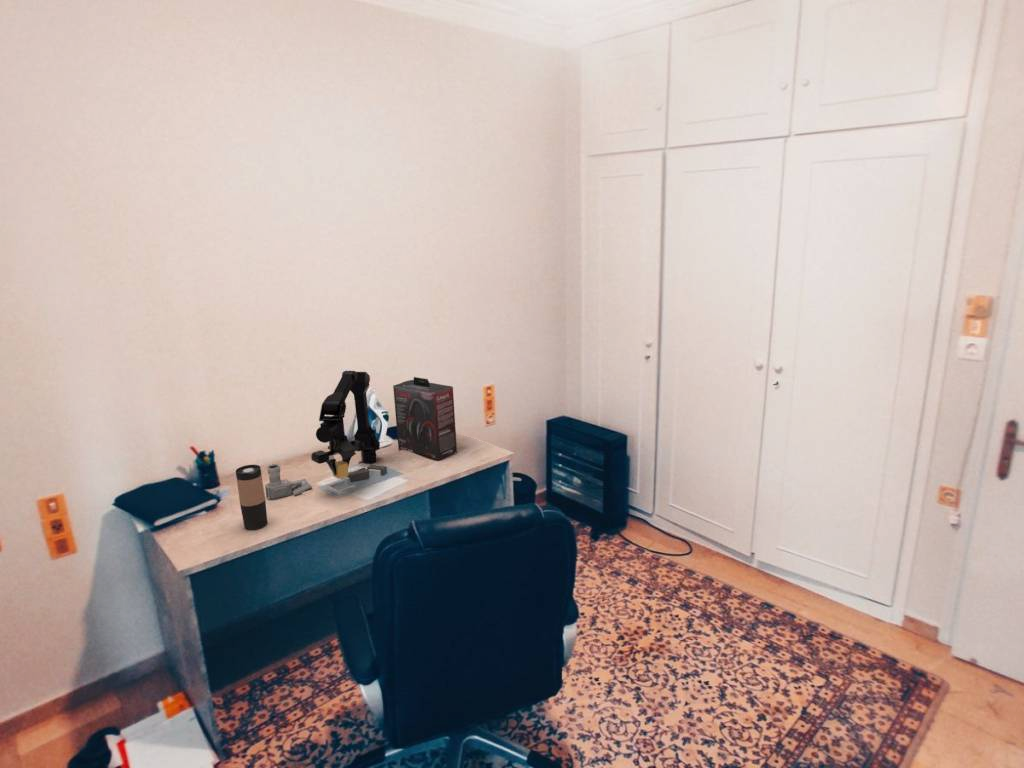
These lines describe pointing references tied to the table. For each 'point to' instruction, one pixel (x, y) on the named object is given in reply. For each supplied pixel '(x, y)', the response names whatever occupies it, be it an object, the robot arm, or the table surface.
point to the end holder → (343, 491)
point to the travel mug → (251, 497)
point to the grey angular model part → (283, 484)
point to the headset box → (425, 418)
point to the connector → (341, 469)
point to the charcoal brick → (358, 475)
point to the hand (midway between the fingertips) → (340, 473)
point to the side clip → (347, 479)
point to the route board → (376, 477)
